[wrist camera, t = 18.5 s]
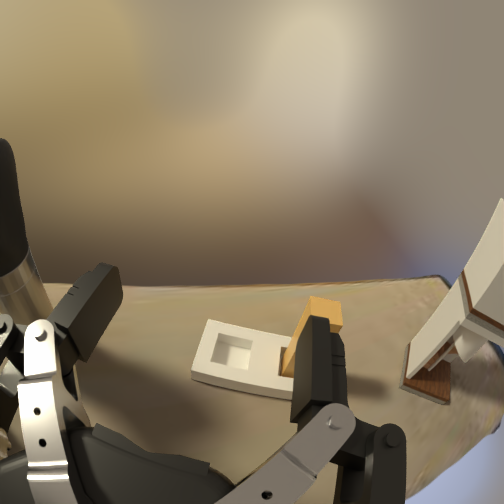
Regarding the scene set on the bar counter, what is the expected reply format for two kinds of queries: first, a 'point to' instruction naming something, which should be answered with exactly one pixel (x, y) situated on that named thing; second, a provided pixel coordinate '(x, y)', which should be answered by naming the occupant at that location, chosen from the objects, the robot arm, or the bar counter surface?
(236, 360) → the white socket board
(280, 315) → the bar counter surface
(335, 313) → the plug
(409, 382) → the white tower
